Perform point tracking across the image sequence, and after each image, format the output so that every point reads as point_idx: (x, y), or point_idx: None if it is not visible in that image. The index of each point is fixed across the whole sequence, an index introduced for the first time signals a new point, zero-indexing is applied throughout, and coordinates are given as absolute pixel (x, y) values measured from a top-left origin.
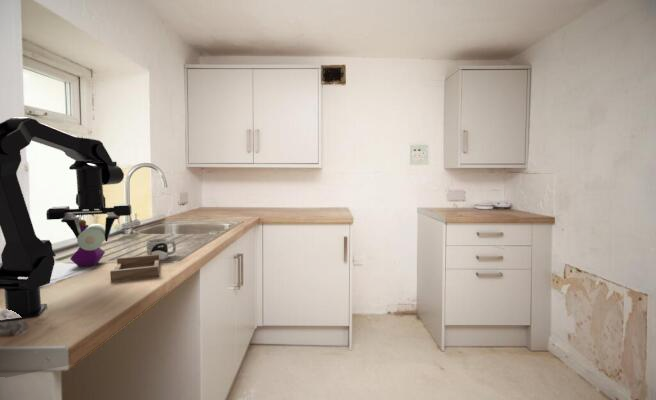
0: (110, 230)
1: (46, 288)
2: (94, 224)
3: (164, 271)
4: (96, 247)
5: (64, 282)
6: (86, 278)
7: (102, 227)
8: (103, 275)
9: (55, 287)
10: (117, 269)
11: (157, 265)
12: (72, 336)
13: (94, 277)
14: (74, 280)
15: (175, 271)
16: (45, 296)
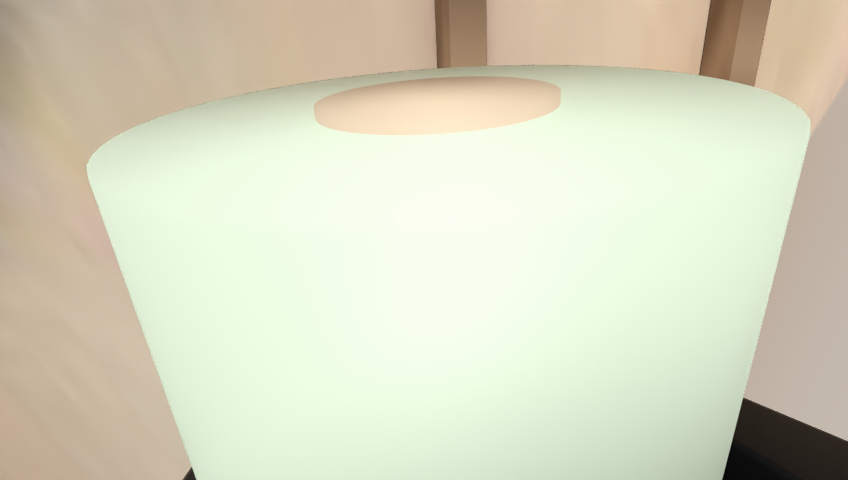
0: (802, 423)
1: (3, 260)
2: (572, 423)
3: (759, 63)
4: None
5: (67, 126)
6: (223, 55)
7: (732, 428)
8: (348, 2)
9: (71, 251)
10: (477, 15)
11: (764, 3)
12: None
13: (287, 46)
14: (135, 88)
15: (811, 92)
16: (122, 418)
